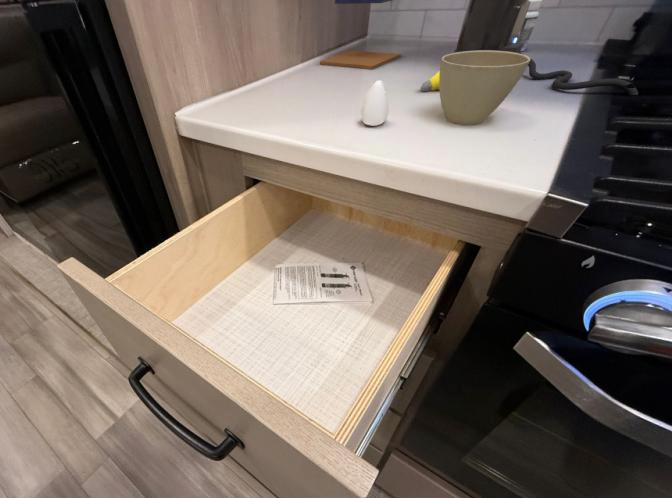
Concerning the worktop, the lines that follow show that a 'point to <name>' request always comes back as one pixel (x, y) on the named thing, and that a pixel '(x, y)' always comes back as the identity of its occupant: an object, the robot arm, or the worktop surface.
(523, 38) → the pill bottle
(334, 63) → the mat
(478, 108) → the flower pot
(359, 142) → the worktop surface
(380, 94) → the egg
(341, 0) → the navy rectangular block
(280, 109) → the worktop surface
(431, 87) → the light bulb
